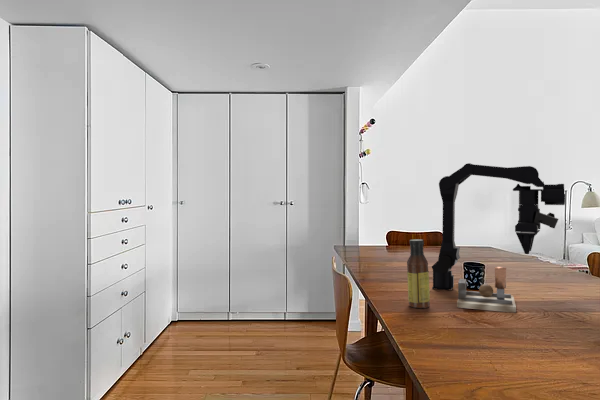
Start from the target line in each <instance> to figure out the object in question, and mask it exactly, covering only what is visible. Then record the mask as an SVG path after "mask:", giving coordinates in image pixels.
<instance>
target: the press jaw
mask: <svg viewBox="0 0 600 400" xmlns="http://www.w3.org/2000/svg"><path fill="white" fill-rule="evenodd" d="M494 288H496V293H497V299H500V300H504V294H505V289H507V267H506V266H495V267H494Z"/></svg>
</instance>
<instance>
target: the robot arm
mask: <svg viewBox="0 0 600 400" xmlns="http://www.w3.org/2000/svg"><path fill="white" fill-rule="evenodd" d="M472 176H477V177H487V178H488V177H489V178H498V179H507V180H510V181H514V182H517V184H516V186H515V187H514V188H512V191H513V192H518V208H517V211H518V220H517V223H516V225H514V232H515V235H516V237H517V238H518V241H519V243H520V245H521V248H522V250H523V252H524V255H529V254H530V252H532V248H533V244H534V241H535V240H534V239H535V237H536V235H538V233H540V231H541V229H542V228H541V224H542V225H544V226H547V227H549V228H552V229H556V226H557V223H558V222H559V218H557V217H555V213H553V212H549V213H547V214H546V213H542V212H540V211H541V210H540V209H541V208H540V207H539V192H540V202H541V203H544V205H545V206H566V205H565V204H566V193H565V184H564V183H557V184H546V183H544V181H542V179H541V178H540V176H539V171H538V170H537V168H536V167H535V166H532V165H526V166H525V165H523V166H514V167H513V166H512V167H503V166H496V165H495V166H493V165H485V164H484V165H481V164H473V163H470V162H469V163H465V164H464V165H463V166H462V167H460V168H459V169H458V170H456V171H455V172H454V171H453V173H451V174H450V175H447V176H443V177H442V178H440V180H439V182H438V187H439V193H440V197H441V200H442V237H441V238H442V242H441V246H440V248H439V252H438V254H439V255H438V258H437V259H438V260H437V261H436V262H434V264H433V265H432V266H431V268H432V287H431V289H432V290H443V291H444V290H445V291H452V290H453V288H454V287H455V285H454V284H455V281H454V280H455V276H454V275H453V271H452V268H453V267H454V266H455V265H456V264H457V263H458V261H459V259H460V258H461V256H460V251H461V250H460V248H461V247H460V246H456V243H455V242H456V241H455V225H456V224H455V223H456V221H455V218H456V217H455V215H456V214H455V212H456V210H455V207H456V206H455V205H456V199H457V196H458V191H459V186H460V185H461V184H462V183H464V182H465V181H466V180H467V179H468V178H470V177H472ZM520 183H522V184H523V185H520ZM524 184H525V185H524ZM531 185H533V186H534V187H536V188H537V189H535V188H533V189H532V188H531Z"/></svg>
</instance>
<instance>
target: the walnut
mask: <svg viewBox="0 0 600 400" xmlns="http://www.w3.org/2000/svg"><path fill="white" fill-rule="evenodd" d="M493 288H494V287H492V286H491V284H488V283H483V284H481V285H480V286H479V289H478V292H479V293H480V294H481V295H482V296H483V297H490V296H492V294H493V293H494V289H493Z"/></svg>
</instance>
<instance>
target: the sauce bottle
mask: <svg viewBox="0 0 600 400" xmlns="http://www.w3.org/2000/svg"><path fill="white" fill-rule="evenodd" d="M424 245H425V243H424V239H417V238H416V239H409V246H410V252H409V253H410V255H409V257H408V259H407V261H406V267H407V268H406V269H407V271H406V275H407V296H408V297H407V301H408V306H410V307H411V308H413V309H414V308H416V309H427V308H429V307H430V305H431V304H430V303H431V302H430V301H431V296H430V293H431V291H430V275H429V266H428V265H429V263H428V260H427V258H426V256H425V254H424V253H425V252H424Z"/></svg>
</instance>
